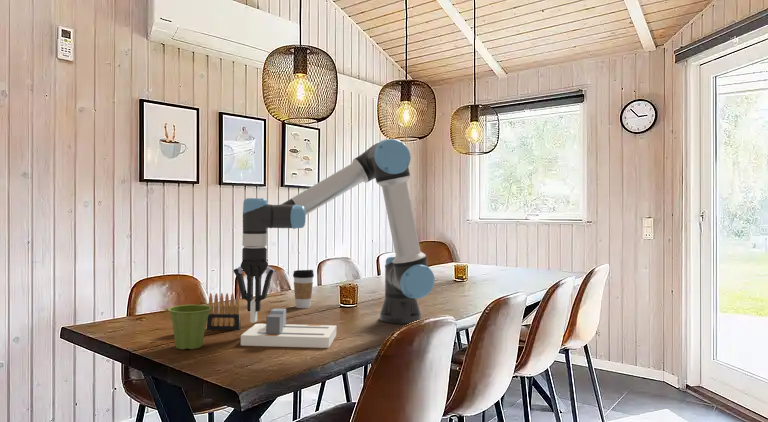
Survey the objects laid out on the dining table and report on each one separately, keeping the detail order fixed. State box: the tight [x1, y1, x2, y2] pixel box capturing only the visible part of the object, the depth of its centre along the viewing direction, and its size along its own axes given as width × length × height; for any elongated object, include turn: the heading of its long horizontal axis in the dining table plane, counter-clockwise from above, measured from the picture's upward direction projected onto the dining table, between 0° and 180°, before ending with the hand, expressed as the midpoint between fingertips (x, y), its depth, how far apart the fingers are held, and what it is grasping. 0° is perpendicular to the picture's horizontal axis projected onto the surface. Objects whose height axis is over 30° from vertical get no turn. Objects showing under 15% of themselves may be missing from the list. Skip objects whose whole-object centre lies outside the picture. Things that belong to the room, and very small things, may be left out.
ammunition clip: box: [206, 292, 242, 331], centre depth 180 cm, size 11×2×12 cm, turn 93°
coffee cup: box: [292, 269, 315, 309], centre depth 221 cm, size 8×8×15 cm
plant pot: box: [167, 304, 212, 350], centre depth 157 cm, size 12×12×11 cm
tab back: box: [269, 308, 287, 327], centre depth 172 cm, size 4×4×5 cm
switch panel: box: [240, 323, 337, 349], centre depth 167 cm, size 26×16×3 cm, turn 87°
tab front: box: [265, 313, 283, 334], centre depth 163 cm, size 4×4×5 cm
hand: (253, 321), depth 172 cm, fingers closed
